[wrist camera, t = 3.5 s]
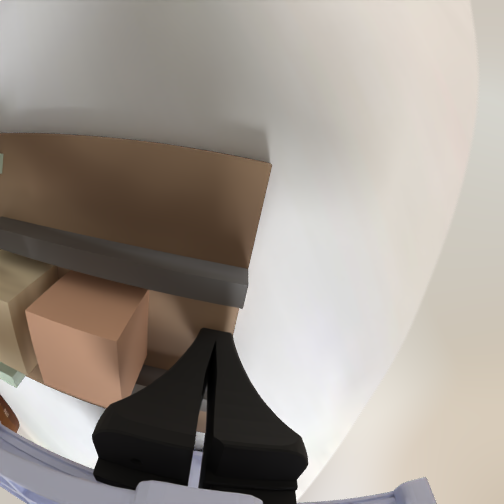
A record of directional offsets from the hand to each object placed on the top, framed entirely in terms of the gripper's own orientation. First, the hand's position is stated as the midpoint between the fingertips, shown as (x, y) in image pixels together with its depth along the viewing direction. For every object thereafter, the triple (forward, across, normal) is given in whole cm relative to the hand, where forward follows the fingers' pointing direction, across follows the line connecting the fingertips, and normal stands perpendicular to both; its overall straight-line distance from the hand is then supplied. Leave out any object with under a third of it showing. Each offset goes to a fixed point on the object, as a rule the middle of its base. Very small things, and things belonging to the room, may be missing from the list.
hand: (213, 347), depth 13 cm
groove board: (+2, +11, 0) cm, 11 cm away
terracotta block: (+1, +5, 0) cm, 5 cm away
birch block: (+1, +10, 0) cm, 10 cm away
